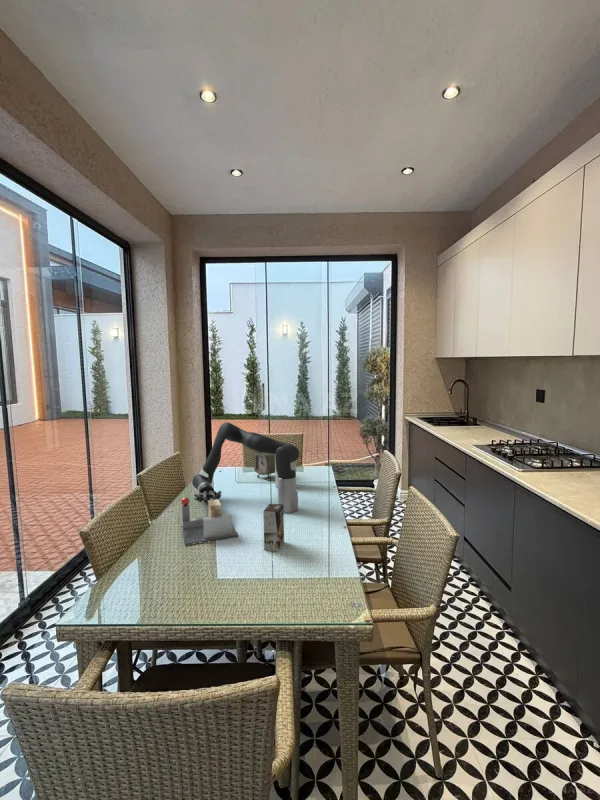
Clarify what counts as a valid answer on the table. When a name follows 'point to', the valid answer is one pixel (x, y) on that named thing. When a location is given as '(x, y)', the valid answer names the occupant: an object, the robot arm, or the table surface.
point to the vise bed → (198, 535)
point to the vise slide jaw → (186, 517)
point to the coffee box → (273, 527)
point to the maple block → (214, 508)
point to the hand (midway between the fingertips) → (210, 501)
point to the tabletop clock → (264, 464)
